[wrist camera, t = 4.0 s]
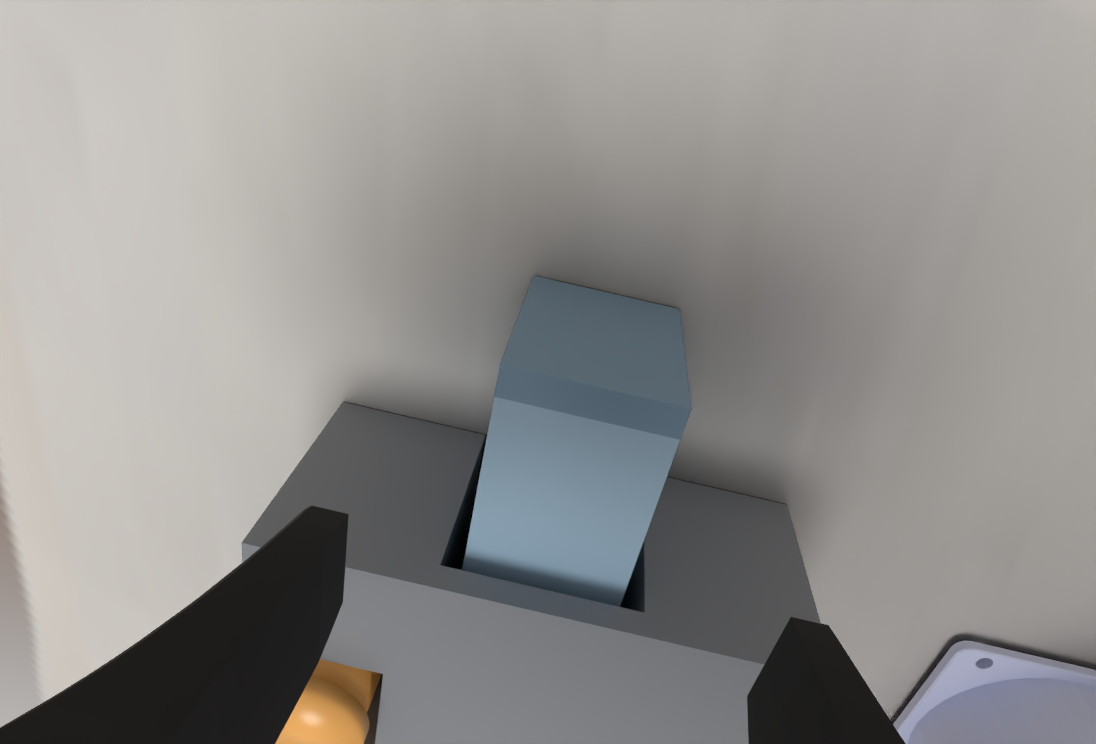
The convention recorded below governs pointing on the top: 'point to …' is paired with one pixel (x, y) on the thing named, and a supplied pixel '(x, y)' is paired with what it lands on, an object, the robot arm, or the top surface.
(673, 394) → the block
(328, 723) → the plunger
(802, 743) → the robot arm
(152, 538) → the top surface
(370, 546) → the housing
